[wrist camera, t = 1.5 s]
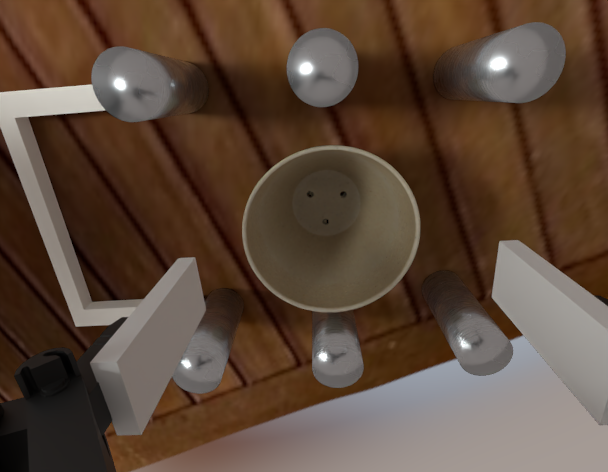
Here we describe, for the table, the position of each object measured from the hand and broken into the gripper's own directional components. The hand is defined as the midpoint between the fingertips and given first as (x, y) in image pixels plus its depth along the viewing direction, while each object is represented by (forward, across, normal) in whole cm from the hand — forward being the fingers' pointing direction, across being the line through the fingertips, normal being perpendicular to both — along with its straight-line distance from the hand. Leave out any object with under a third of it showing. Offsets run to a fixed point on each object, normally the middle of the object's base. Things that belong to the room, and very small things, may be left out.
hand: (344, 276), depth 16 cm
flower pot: (+12, -1, 0) cm, 12 cm away
